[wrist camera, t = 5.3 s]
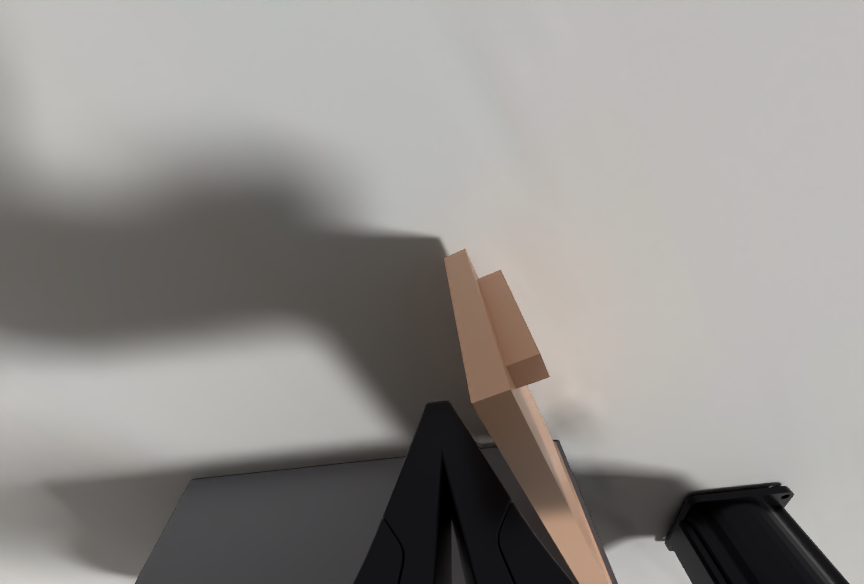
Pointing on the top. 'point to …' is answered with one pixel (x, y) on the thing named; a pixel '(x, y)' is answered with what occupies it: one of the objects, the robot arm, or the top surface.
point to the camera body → (303, 525)
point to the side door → (518, 408)
